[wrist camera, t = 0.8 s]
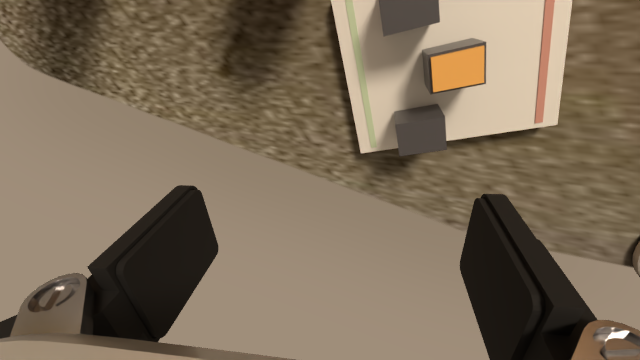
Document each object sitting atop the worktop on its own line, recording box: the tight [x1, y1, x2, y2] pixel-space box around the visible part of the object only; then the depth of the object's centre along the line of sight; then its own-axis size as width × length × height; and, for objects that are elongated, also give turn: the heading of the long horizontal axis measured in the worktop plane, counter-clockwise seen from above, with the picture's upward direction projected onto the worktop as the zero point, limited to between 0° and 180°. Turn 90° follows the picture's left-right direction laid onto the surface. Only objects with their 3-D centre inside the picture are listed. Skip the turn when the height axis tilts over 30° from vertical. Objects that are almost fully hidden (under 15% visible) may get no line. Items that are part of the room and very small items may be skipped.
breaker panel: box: [331, 0, 572, 156], centre depth 25 cm, size 18×15×6 cm
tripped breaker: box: [422, 38, 486, 95], centre depth 24 cm, size 4×3×4 cm
